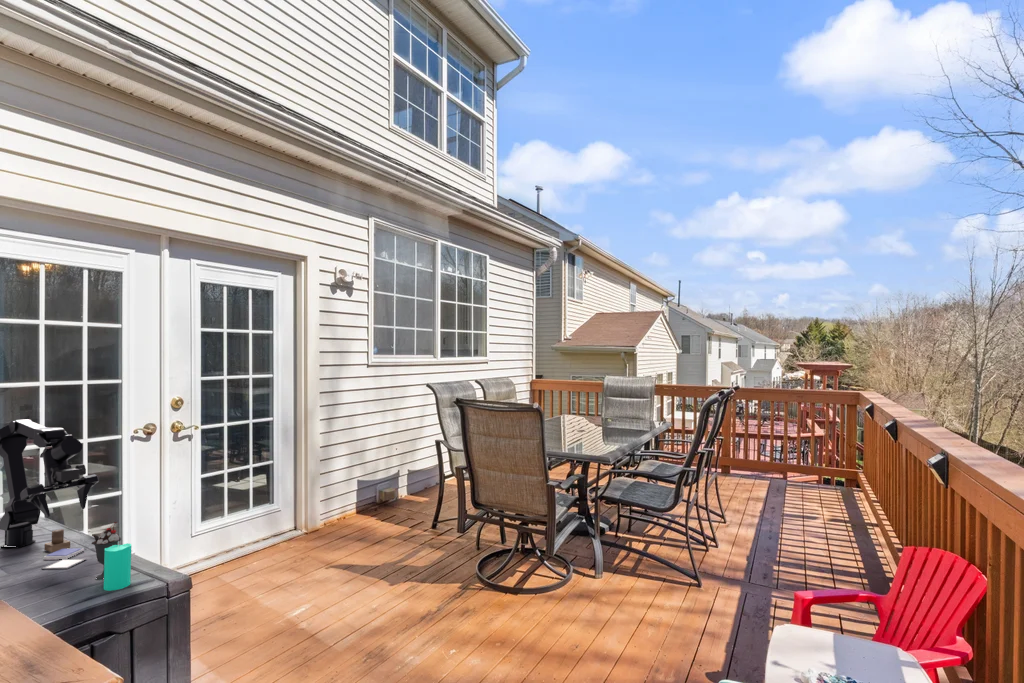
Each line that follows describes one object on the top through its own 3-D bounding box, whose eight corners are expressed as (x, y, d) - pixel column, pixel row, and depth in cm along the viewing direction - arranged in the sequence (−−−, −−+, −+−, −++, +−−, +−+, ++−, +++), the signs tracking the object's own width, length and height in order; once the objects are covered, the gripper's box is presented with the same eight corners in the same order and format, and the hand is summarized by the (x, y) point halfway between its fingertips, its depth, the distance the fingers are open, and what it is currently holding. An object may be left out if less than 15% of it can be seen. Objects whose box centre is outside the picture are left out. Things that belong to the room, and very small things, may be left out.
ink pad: (43, 559, 165) (43, 555, 165) (62, 551, 172) (62, 548, 172) (66, 559, 165) (66, 555, 165) (84, 551, 172) (84, 547, 172)
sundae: (126, 573, 154) (127, 520, 154) (101, 582, 147) (103, 527, 148) (110, 570, 156) (111, 518, 156) (85, 579, 149) (86, 525, 150)
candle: (136, 582, 147) (137, 537, 148) (118, 591, 141) (119, 545, 142) (116, 581, 148) (117, 537, 148) (97, 590, 142) (98, 544, 143)
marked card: (41, 569, 157) (41, 568, 157) (62, 560, 165) (62, 559, 165) (67, 569, 157) (67, 568, 157) (86, 559, 165) (86, 558, 165)
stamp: (44, 551, 174) (44, 531, 174) (63, 546, 178) (63, 527, 178) (51, 553, 171) (52, 533, 171) (70, 548, 176) (70, 529, 176)
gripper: (30, 463, 160) (40, 513, 157) (101, 452, 177) (112, 497, 173) (15, 475, 165) (24, 524, 161) (86, 463, 181) (95, 507, 178)
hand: (66, 512), depth 168 cm, fingers open, 9 cm apart
